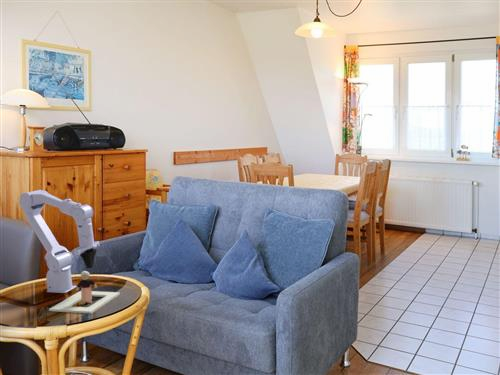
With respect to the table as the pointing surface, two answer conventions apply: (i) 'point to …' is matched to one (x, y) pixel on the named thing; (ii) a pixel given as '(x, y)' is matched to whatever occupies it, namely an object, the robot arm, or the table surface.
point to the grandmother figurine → (86, 288)
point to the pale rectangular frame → (67, 304)
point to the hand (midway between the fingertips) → (89, 267)
